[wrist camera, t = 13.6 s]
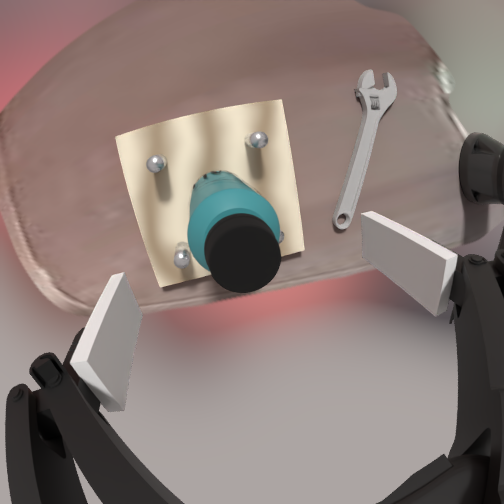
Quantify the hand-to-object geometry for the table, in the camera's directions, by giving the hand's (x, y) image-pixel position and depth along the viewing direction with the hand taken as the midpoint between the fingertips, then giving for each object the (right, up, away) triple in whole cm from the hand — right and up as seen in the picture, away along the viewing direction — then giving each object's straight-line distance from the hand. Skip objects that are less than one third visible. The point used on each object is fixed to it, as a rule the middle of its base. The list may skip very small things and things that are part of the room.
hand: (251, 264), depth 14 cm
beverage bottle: (-4, +7, +18) cm, 20 cm away
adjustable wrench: (+15, +16, +21) cm, 30 cm away
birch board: (-5, +8, +19) cm, 22 cm away
